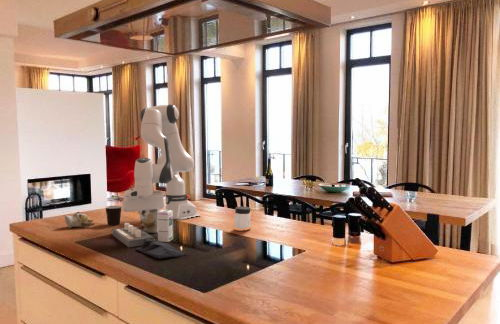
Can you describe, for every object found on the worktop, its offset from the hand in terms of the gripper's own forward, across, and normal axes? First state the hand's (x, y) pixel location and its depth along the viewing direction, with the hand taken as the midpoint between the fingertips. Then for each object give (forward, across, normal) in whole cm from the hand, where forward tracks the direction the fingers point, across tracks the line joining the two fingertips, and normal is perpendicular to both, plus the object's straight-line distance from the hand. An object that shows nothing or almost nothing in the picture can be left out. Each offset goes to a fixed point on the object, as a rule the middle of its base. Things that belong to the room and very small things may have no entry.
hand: (143, 219), depth 205 cm
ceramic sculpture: (+10, +22, -40) cm, 47 cm away
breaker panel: (+9, +6, 0) cm, 11 cm away
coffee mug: (+10, +4, -37) cm, 39 cm away
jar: (+9, -51, +11) cm, 53 cm away
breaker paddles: (+6, +6, 0) cm, 9 cm away
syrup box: (+10, -7, +10) cm, 16 cm away
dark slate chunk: (+10, +2, +27) cm, 29 cm away
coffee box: (+10, -7, -11) cm, 16 cm away
